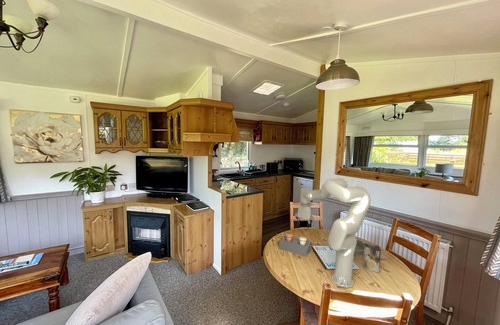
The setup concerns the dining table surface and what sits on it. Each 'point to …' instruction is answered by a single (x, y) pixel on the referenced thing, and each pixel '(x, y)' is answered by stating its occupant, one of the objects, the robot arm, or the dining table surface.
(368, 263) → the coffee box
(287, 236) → the plunger terracotta
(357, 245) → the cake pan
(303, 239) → the plunger white
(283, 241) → the console
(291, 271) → the dining table surface
